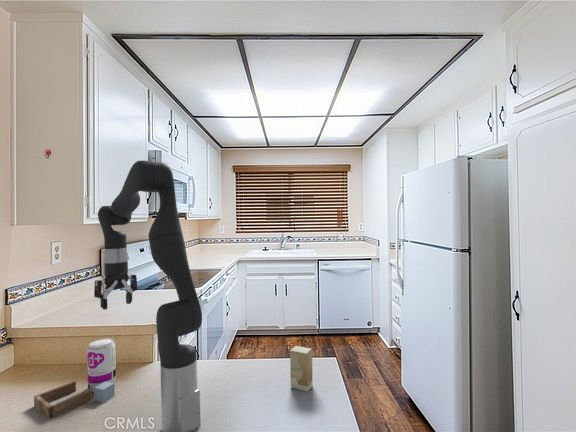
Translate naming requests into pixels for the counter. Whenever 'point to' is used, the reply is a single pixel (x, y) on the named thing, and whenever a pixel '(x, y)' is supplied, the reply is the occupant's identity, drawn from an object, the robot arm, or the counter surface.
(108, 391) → the slate-blue block
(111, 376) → the supplement can
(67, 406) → the frame
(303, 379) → the skincare box
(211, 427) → the counter surface
